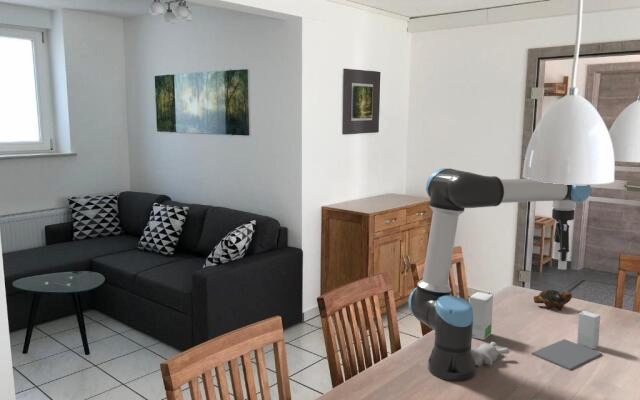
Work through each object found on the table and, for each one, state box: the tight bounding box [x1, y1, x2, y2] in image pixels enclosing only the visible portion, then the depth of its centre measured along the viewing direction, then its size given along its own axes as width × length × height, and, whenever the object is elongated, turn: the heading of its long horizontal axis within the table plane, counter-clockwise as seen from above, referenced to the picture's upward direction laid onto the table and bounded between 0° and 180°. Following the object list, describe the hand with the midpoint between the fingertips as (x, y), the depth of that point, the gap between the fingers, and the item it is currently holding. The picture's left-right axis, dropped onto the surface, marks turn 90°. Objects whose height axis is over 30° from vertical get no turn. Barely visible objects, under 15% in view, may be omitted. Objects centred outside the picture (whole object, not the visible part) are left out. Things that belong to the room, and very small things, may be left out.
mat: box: [531, 338, 603, 371], centre depth 186 cm, size 20×14×1 cm
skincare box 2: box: [576, 310, 601, 350], centre depth 192 cm, size 6×4×12 cm
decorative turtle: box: [532, 289, 573, 312], centre depth 230 cm, size 10×15×8 cm, turn 77°
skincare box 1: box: [469, 291, 494, 341], centre depth 201 cm, size 8×7×16 cm
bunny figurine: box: [471, 341, 510, 367], centre depth 181 cm, size 10×5×15 cm
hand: (559, 264), depth 201 cm, fingers open, 13 cm apart
